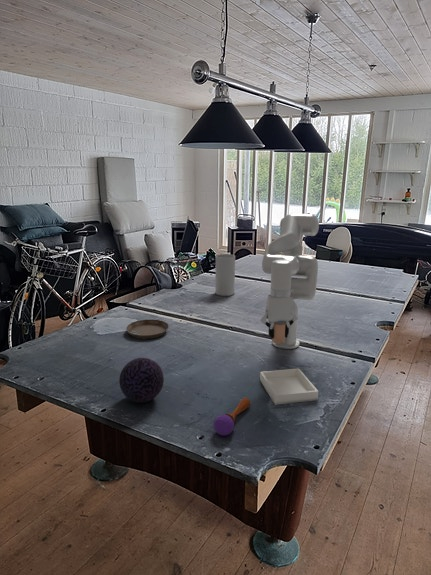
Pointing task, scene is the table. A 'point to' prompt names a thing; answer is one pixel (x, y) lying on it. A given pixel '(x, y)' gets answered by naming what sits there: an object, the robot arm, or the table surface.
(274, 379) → the tray
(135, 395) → the toy ball
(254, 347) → the table surface
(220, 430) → the brown purple handled piece
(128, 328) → the plant saucer
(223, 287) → the cylinder vase
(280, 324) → the cylinder
